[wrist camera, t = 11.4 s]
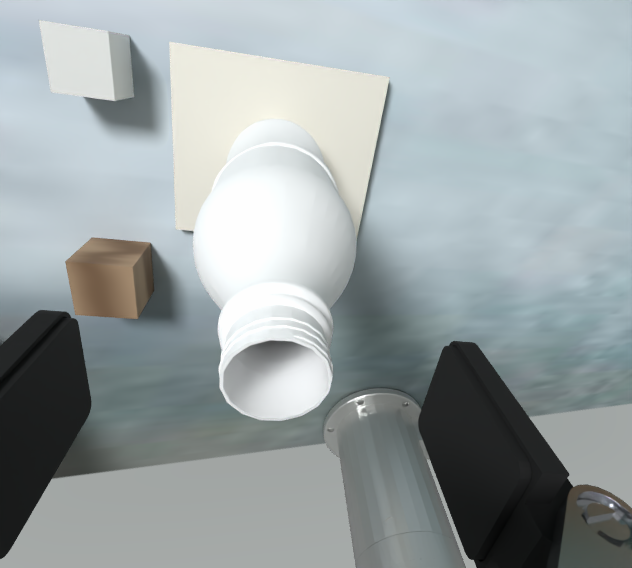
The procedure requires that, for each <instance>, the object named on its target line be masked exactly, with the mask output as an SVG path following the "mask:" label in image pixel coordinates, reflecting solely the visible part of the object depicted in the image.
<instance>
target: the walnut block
mask: <svg viewBox="0 0 632 568" xmlns="http://www.w3.org/2000/svg"><path fill="white" fill-rule="evenodd" d="M65 262H66V268H67V273H68V278H69V283H70V289H71V294H72V299H73V304H74V310H75V315H85V316H100V317H115V318H130V319H138V318H139V316H140V314H141V312H142V311H143V309H144V307H145V305H146V304H147V302H148V300H149V298H150V297H151V295H152V293H153V291H154V282H153V268H152V254H151V243H147V242H136V241H125V240H114V239H103V238H91V239H90V240H89V241H88V242H87V243H85V244H84V245H83V246H82V247H81V248H80V249H79V250H78V251H77V252H75V253H74V254H73V255H72V256H71V257H70V258H69V259H68V260H67V261H65Z"/></svg>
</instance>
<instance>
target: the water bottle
mask: <svg viewBox="0 0 632 568" xmlns="http://www.w3.org/2000/svg"><path fill="white" fill-rule="evenodd" d="M193 253H194V259H195V266H196V269H197V271H198V274H199V277H200V280H201V282H202V284H203V286H204V287H205V289H206V291H207V292H208V294H209V295H210V297H211V298H212V299H213V300H214V302H215V303H216V304H217V305H218V307H219V308H220V309H221V310H222V311H221V314H220V316H219V322H218V336H219V340H220V345H221V350H222V352H221V361H220V365H219V375H220V389H221V391H222V393H223V395H224V397H225V399H226V401H227V403H229V404H230V405H231V406H232V407H234V408H235V409H236V410H238V411H239V412H240V413H242V414H244V415H247V416H250V417H253V418H256V419H259V420H275V421H283V420H287V419H291V418H295V417H299V416H302V415H304V414H306V413H307V412H309V411H311V410H312V409H314V408H316V407H317V406H319V404H320V403H321V402H322V400H323V399H324V398H325V397H326V395H327V394H328V393H329V390H330V386H331V382H332V380H333V365H332V360H331V356H330V352H329V349H330V345H331V339H332V336H333V319H332V315H331V312H330V309H331V307H332V306H333V305H334V304H335V302H336V301H337V300H338V298H339V297H340V296H341V294H342V293H343V291H344V289H345V288H346V286H347V284H348V282H349V279H350V277H351V274H352V271H353V269H354V263H355V258H356V233H355V228H354V224H353V221H352V217H351V214H350V212H349V210H348V208H347V206H346V204H345V202H344V201H343V199H342V198H341V197H340V196H339V192H338V188H337V185H336V182H335V180H334V178H333V176H332V174H331V172H330V170H329V168H328V167H327V165H326V164H325V163H324V159H323V156H322V153H321V151H320V148H319V146H318V145H317V143H316V142H315V140H314V139H313V137H312V136H311V135H310V134H309V133H308V132H307V131H306V130H305V129H303V128H302V127H300V126H299V125H297V124H296V123H293V122H291V121H287V120H284V119H265V120H261V121H258V122H256V123H253V124H252V125H250V126H249V127H247V128H246V129H245V130H244V131H242V132H241V133H240V134H239V136H238V137H237V138H236V140H235V141H234V143H233V145H232V147H231V149H230V151H229V154H228V157H227V161H226V165H225V166H224V167H223V168H222V170H221V171H220V172H219V174H218V175H217V177H216V179H215V181H214V184H213V188H212V192H211V193H210V194H209V195H208V197H207V199H206V200H205V202H204V203H203V205H202V206H201V209H200V211H199V214H198V217H197V219H196V224H195V228H194V234H193Z"/></svg>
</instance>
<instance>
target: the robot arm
mask: <svg viewBox="0 0 632 568" xmlns="http://www.w3.org/2000/svg"><path fill="white" fill-rule="evenodd" d="M90 409H91V396H90V390H89V384H88V379H87V373H86V367H85V361H84V355H83V349H82V343H81V337H80V331H79V325H78V321H77V320H76V319H74V318H71V316H70V315H69V313H67V312H61V311H47V310H39V311H38V312H36V313H35V314H34V315H33V316H32V317H31V318H30V319H28V320H27V321H26V322H25V323H24V324H23V325H22V326H21V327H20V328H19V329H18V330H17V331H16V332H15V333H14V334H13V335H11V336H10V337H9V338H8V339H7V340H6V341H5V342H4V343H3V344H2V345H1V346H0V559H2V558H3V557H5V556H6V554H7V553H8V552H9V550H10V549H11V547H12V546H13V544H14V542H15V541H16V539H17V537H18V535H19V534H20V532H21V530H22V529H23V527H24V525H25V523H26V522H27V520H28V518H29V517H30V515H31V513H32V511H33V510H34V508H35V506H36V504H37V503H38V501H39V499H40V498H41V496H42V494H43V493H44V491H45V489H46V487H47V486H48V484H49V482H50V481H51V479H52V477H53V475H54V474H55V472H56V470H57V469H58V467H59V465H60V463H61V462H62V460H63V458H64V457H65V455H66V453H67V451H68V450H69V448H70V446H71V445H72V443H73V441H74V439H75V438H76V436H77V434H78V433H79V431H80V429H81V427H82V426H83V424H84V422H85V421H86V419H87V417H88V415H89V413H90ZM323 433H324V440H325V443H326V445H327V447H328V448H329V449H330V451H331V452H332V453H333V454H335V455H336V456H337V457H339V458H340V463H341V470H342V476H343V483H344V490H345V497H346V504H347V511H348V518H349V524H350V531H351V538H352V544H353V552H354V558H355V565H356V568H466V567H465V564H464V561H463V558H462V556H461V553H460V550H459V548H458V545H457V542H456V539H455V537H454V534H453V531H452V528H451V526H450V523H449V520H448V517H447V515H446V512H445V509H444V506H443V504H442V501H441V498H440V496H439V493H438V490H437V488H436V485H435V482H434V479H433V477H432V474H431V471H430V468H429V466H428V463H427V459H430V460H431V463H432V466H433V469H434V471H435V473H436V477H437V479H438V482H439V484H440V487H441V490H442V492H443V495H444V497H445V500H446V503H447V506H448V508H449V511H450V514H451V516H452V519H453V521H454V524H455V527H456V529H457V532H458V535H459V537H460V540H461V542H462V545H463V547H464V551H465V553H466V555H467V556H468V558H469V559H471V560H474V562H475V564H476V567H477V568H632V508H631V507H630V506H629V505H628V504H626V503H625V502H624V501H623V500H621V499H620V498H618V497H616V496H615V495H613V494H612V493H610V492H608V491H606V490H603V489H601V488H599V487H595V486H591V485H577V486H575V487H573V486H572V485H571V483H570V482H569V480H568V479H567V477H568V476H569V473H568V472H567V470H566V469H565V467H564V466H563V464H562V463H561V462H560V460H559V459H558V458H557V456H556V455H555V453H554V452H553V450H552V449H551V448H550V446H549V445H548V443H547V442H546V441H545V439H544V438H543V437H542V435H541V434H540V432H539V431H538V430H537V428H536V427H535V425H534V424H533V422H532V421H531V420H530V418H529V417H528V415H527V414H526V413H525V411H524V410H523V408H522V407H521V406H520V404H519V403H518V401H517V400H516V399H515V397H514V396H513V394H512V393H511V392H510V390H509V389H508V388H507V386H506V385H505V383H504V382H503V381H502V379H501V378H500V376H499V375H498V374H497V372H496V371H495V369H494V368H493V367H492V365H491V364H490V362H489V361H488V360H487V358H486V357H485V355H484V354H483V353H482V351H481V350H480V348H479V347H478V346H477V345H476V344H475V343H473V342H460V341H453V342H451V343H450V345H449V346H445V347H444V348H443V350H442V353H441V356H440V359H439V361H438V364H437V367H436V370H435V373H434V376H433V378H432V381H431V384H430V387H429V390H428V393H427V395H426V398H425V401H424V404H423V407H422V409H421V408H420V406H419V404H418V403H417V402H416V401H415V400H414V399H413V398H412V397H411V396H409V395H408V394H406V393H403V392H401V391H398V390H394V389H388V388H374V389H367V390H363V391H359V392H356V393H354V394H351V395H349V396H347V397H346V398H344V399H342V400H341V401H339V402H338V403H337V404H336V405H335V406H334V407H333V408H332V409H331V410H330V411H329V413H328V415H327V416H326V418H325V422H324V425H323Z"/></svg>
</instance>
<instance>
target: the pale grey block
mask: <svg viewBox="0 0 632 568" xmlns="http://www.w3.org/2000/svg"><path fill="white" fill-rule="evenodd" d="M39 24H40V30H41V36H42V42H43V48H44V54H45V60H46V66H47V72H48V78H49V84H50V90H51V92H52V93H60V94H67V95H74V96H82V97H89V98H96V99H104V100H111V101H118V100H123V99H127V98H132V97H134V88H133V76H132V63H131V50H130V37H129V35H124V34H120V33H115V32H110V31H104V30H98V29H92V28H85V27H79V26H73V25H66V24H60V23H54V22H47V21H41V20H39Z"/></svg>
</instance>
